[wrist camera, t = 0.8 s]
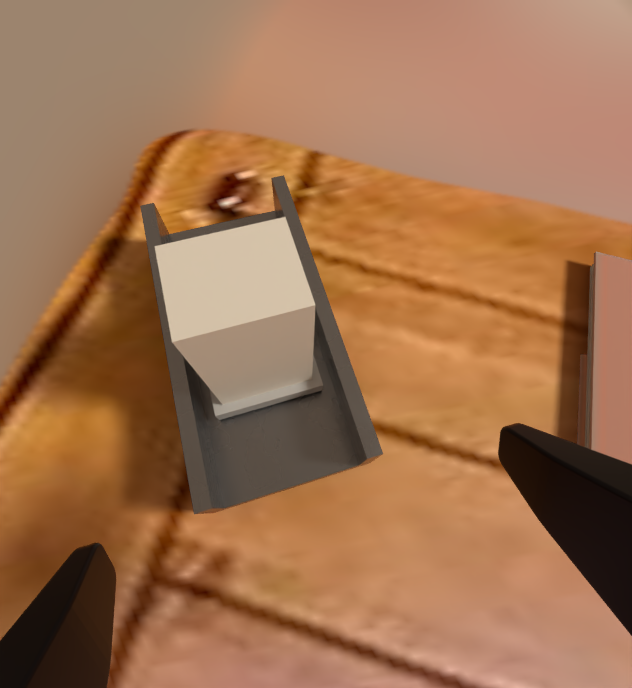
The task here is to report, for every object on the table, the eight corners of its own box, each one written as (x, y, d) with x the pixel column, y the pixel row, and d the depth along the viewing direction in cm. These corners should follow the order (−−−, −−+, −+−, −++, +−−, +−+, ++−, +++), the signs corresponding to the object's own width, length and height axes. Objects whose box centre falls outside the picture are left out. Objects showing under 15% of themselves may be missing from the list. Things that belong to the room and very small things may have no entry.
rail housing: (370, 462, 22) (383, 453, 19) (213, 512, 21) (194, 514, 18) (286, 217, 29) (283, 175, 25) (162, 246, 28) (140, 205, 24)
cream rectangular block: (322, 390, 23) (333, 313, 14) (219, 420, 22) (159, 359, 13) (298, 315, 24) (294, 204, 16) (202, 340, 24) (139, 238, 15)
